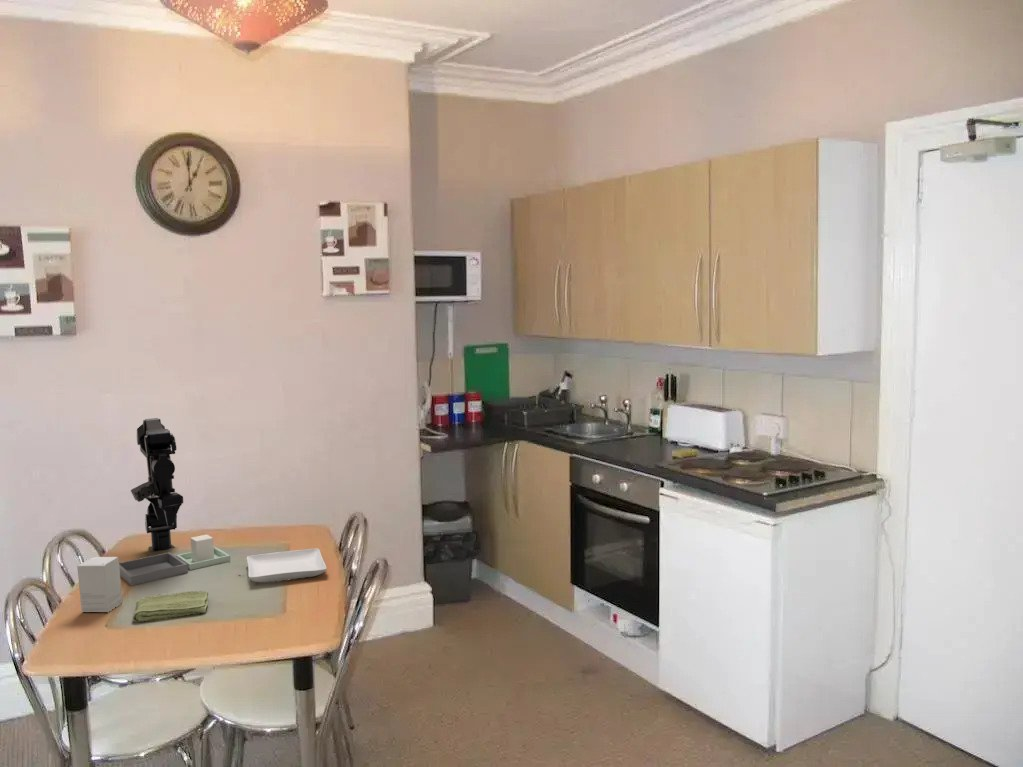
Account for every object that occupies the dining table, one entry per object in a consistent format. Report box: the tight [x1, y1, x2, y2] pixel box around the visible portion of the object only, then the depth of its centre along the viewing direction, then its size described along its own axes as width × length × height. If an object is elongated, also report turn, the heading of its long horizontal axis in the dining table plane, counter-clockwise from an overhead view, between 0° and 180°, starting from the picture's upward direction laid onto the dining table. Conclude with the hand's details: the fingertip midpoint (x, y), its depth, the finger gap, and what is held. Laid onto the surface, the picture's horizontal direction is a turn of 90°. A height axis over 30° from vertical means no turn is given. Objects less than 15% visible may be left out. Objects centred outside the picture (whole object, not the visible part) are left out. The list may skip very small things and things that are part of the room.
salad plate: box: [246, 547, 327, 584], centre depth 247 cm, size 21×21×3 cm
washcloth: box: [132, 590, 209, 623], centre depth 219 cm, size 13×18×3 cm
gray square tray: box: [119, 551, 189, 586], centre depth 247 cm, size 16×16×3 cm
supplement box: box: [76, 556, 123, 613], centre depth 221 cm, size 7×7×13 cm
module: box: [190, 534, 215, 562], centre depth 257 cm, size 5×5×7 cm
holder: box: [175, 546, 232, 571], centre depth 257 cm, size 12×12×2 cm
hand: (164, 523), depth 257 cm, fingers open, 9 cm apart
